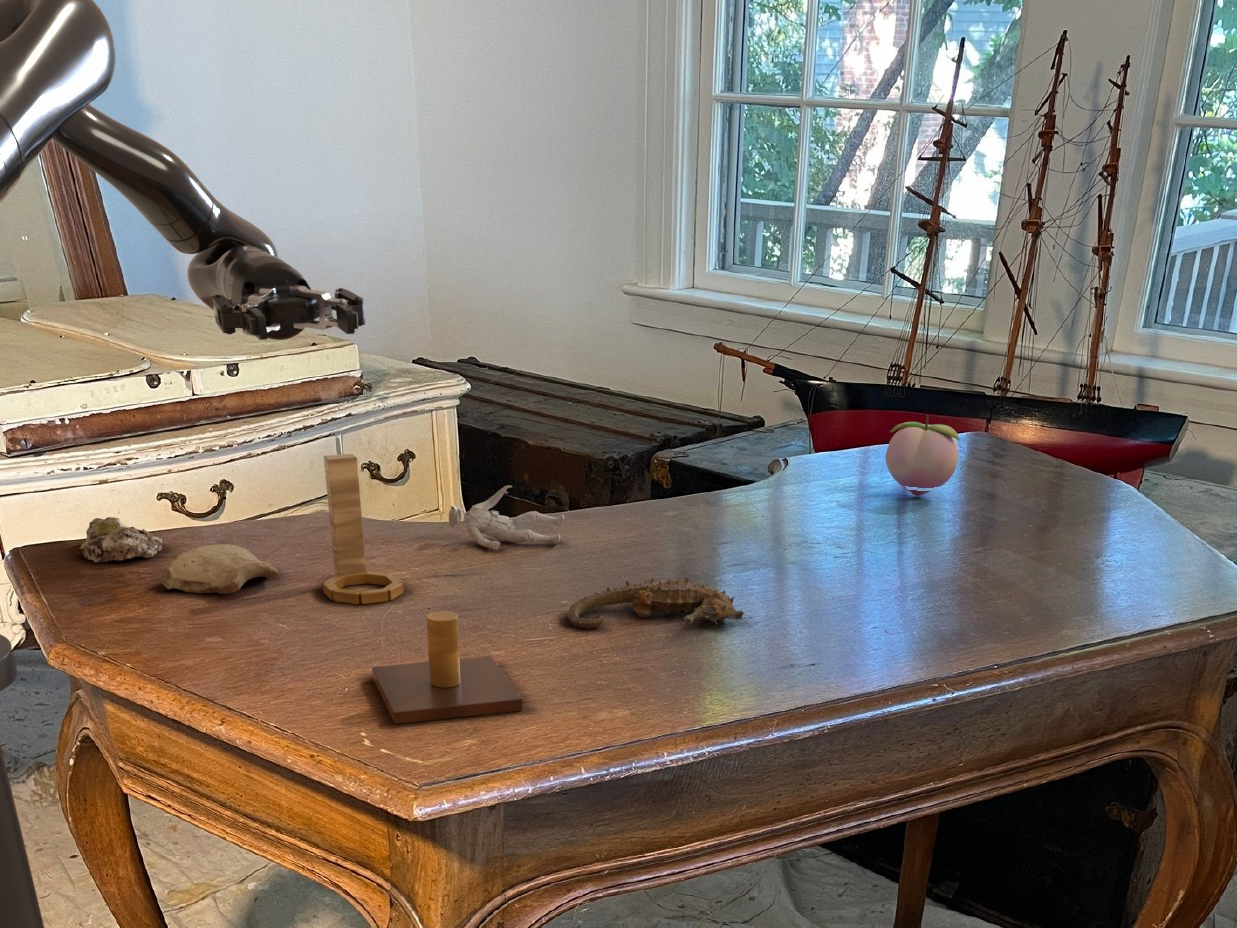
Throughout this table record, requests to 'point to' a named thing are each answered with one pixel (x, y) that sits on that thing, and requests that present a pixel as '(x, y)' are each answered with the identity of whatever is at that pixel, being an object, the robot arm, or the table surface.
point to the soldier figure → (502, 523)
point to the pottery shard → (214, 569)
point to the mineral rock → (117, 541)
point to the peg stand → (445, 680)
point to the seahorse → (659, 601)
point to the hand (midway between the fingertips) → (307, 325)
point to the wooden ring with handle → (351, 538)
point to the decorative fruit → (922, 455)
